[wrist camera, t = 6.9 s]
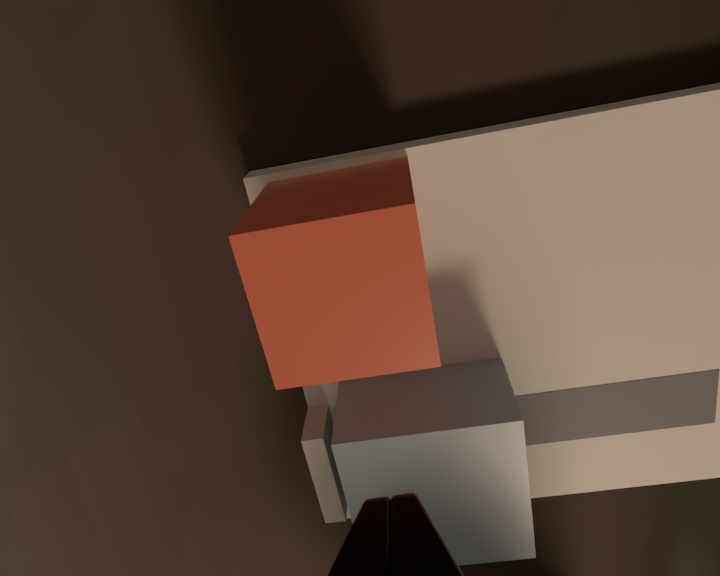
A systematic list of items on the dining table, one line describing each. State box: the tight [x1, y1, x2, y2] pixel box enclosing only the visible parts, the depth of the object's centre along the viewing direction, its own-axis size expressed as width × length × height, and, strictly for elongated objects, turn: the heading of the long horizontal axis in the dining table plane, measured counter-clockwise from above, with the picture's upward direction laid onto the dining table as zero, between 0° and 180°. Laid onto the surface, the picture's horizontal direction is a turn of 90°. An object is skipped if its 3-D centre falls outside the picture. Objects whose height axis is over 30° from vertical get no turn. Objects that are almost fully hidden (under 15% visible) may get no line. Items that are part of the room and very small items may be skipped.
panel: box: [243, 83, 720, 523], centre depth 20 cm, size 18×15×3 cm
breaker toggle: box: [331, 359, 536, 566], centre depth 20 cm, size 6×6×4 cm
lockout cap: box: [228, 156, 441, 390], centre depth 16 cm, size 4×4×5 cm
